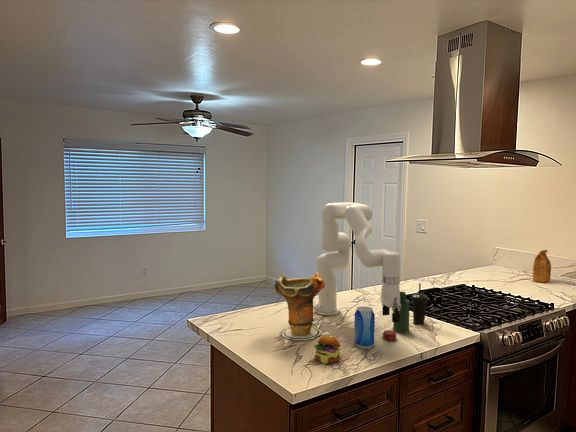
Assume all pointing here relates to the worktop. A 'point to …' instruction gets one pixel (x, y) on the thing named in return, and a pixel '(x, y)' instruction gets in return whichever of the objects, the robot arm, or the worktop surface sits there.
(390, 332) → the cap
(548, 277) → the coffee package
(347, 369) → the worktop surface
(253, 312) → the worktop surface
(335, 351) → the cheeseburger
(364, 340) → the beer can
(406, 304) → the bottle
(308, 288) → the decorative vase
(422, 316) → the drinking cup
